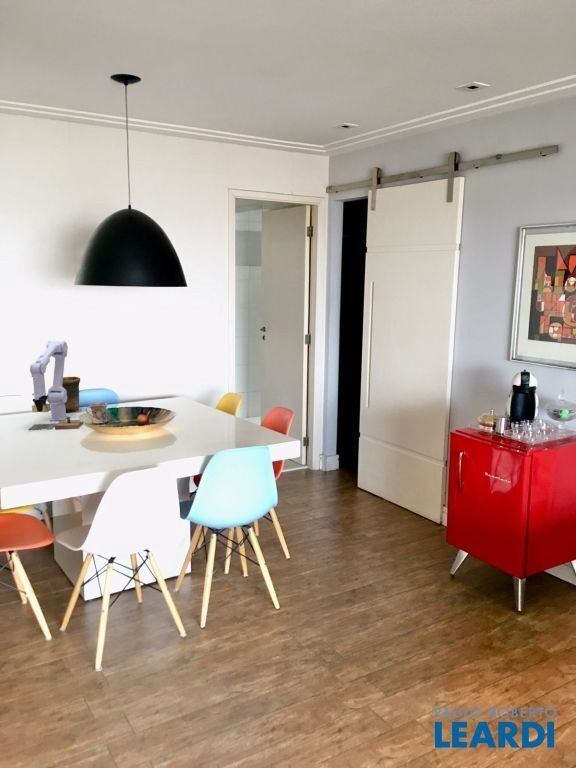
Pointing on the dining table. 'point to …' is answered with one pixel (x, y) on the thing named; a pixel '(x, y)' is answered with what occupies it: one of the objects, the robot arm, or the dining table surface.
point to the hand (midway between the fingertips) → (41, 410)
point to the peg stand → (68, 424)
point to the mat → (42, 426)
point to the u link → (45, 409)
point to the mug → (98, 411)
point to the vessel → (71, 394)
